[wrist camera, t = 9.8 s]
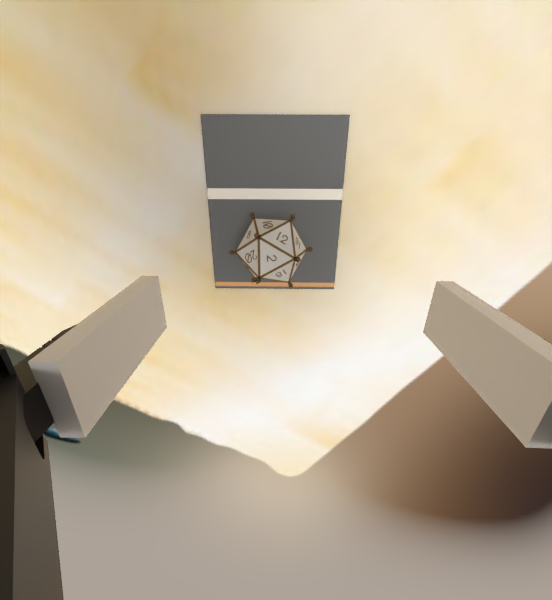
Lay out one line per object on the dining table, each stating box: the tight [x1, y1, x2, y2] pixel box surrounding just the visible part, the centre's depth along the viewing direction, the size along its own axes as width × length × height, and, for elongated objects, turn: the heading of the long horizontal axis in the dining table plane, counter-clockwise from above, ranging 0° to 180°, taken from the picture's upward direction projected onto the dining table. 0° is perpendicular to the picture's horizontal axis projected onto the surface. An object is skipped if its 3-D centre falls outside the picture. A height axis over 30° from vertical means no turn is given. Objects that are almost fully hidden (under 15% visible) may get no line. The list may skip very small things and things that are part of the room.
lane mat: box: [201, 114, 350, 289], centre depth 34 cm, size 20×16×1 cm
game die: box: [228, 211, 314, 289], centre depth 32 cm, size 9×8×10 cm
